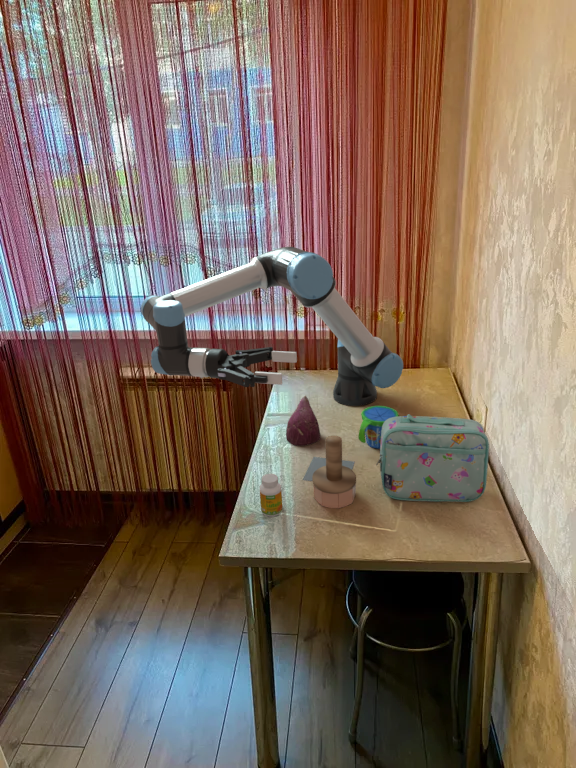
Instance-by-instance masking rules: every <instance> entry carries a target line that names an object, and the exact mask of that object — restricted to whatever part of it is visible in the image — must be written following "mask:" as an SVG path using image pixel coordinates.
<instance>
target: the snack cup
mask: <svg viewBox="0 0 576 768" xmlns="http://www.w3.org/2000/svg"><path fill="white" fill-rule="evenodd" d="M360 416H361V420H362V421H361V424H360V427H359V431H358V441H360V443H363V444H367V445H368V446H369V447H370V448H374V449H378V450H380V444H381V430H382V425H383V423H384V422H385V421H386V420H387V419H389V418H392V417H398V416H400V415H399V411H398V410H396V409H394V408H392V407H389V406H385V405H372V406H368V407H366V408H364V409H363V410H362V411H361V413H360Z"/></svg>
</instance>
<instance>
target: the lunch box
mask: <svg viewBox="0 0 576 768" xmlns="http://www.w3.org/2000/svg"><path fill="white" fill-rule="evenodd" d="M489 450H490V441H489V438H488V436H487V435H486V433H485V429H484V426H483V425H482V424H481V423H480V422H479V421H477V420H475V419H474V420H473V419H469V418H460V417H446V416H445V417H442V416H441V417H440V416H424V415H423V416H421V415H411V414H410V413H409V414H407V415H401V416H400V415H399V416H398V417H392V418H389V419H387V420H386V421H385V422H384V423H383V425H382V430H381V444H380V449H379V459H378V461H377V463H376V466H378V464H379V471H380V472H379V473H380V477H381V478H380V479H381V484H382V489H383V491H384V494H386V495H387V496H388V497H390V498H392V499H393V500H400V501H410V502H411V501H412V502H413V501H414V502H448V503H449V502H452V503H453V502H462V503H465V502H466V503H469V502H474V501H476V500H478V499H480V498H481V497H482V496H483V494H484V493H485V490H486V486H487V478H488V467H489V455H490V453H489Z"/></svg>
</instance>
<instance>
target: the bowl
mask: <svg viewBox="0 0 576 768" xmlns="http://www.w3.org/2000/svg"><path fill="white" fill-rule="evenodd" d="M356 484H357V483H356ZM356 484H355V486H354V487H353V488H352V489H351V490H349V491H347V492H344V493H339V494H330V493H325V492H322V491H320V490H318V489H317V488H316V487H315V486H314V485H313V498H314V499H315V500H316V502H317V503H318V504H319V505H321V506H322V507H325V508H329V509H341V508H345V507H347V506H349V505H351V504H353V502H354V500H355V496H356V494H357V493H356V492H357V491H356V487H357V485H356Z"/></svg>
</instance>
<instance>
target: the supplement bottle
mask: <svg viewBox="0 0 576 768" xmlns="http://www.w3.org/2000/svg"><path fill="white" fill-rule="evenodd" d="M259 499H260V511H261V513H262V514H263V515H264V516H266V517H268V518H270V517H271V518H274V517H277V516H279V515H281V513H282V512H283V510H284V509H283V493H282V485H281V483H280V482H279V477H278V475H277V474H275V473H271V472H270V473H266V474H264V475H262V476H261V484H260V485H259Z"/></svg>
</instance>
